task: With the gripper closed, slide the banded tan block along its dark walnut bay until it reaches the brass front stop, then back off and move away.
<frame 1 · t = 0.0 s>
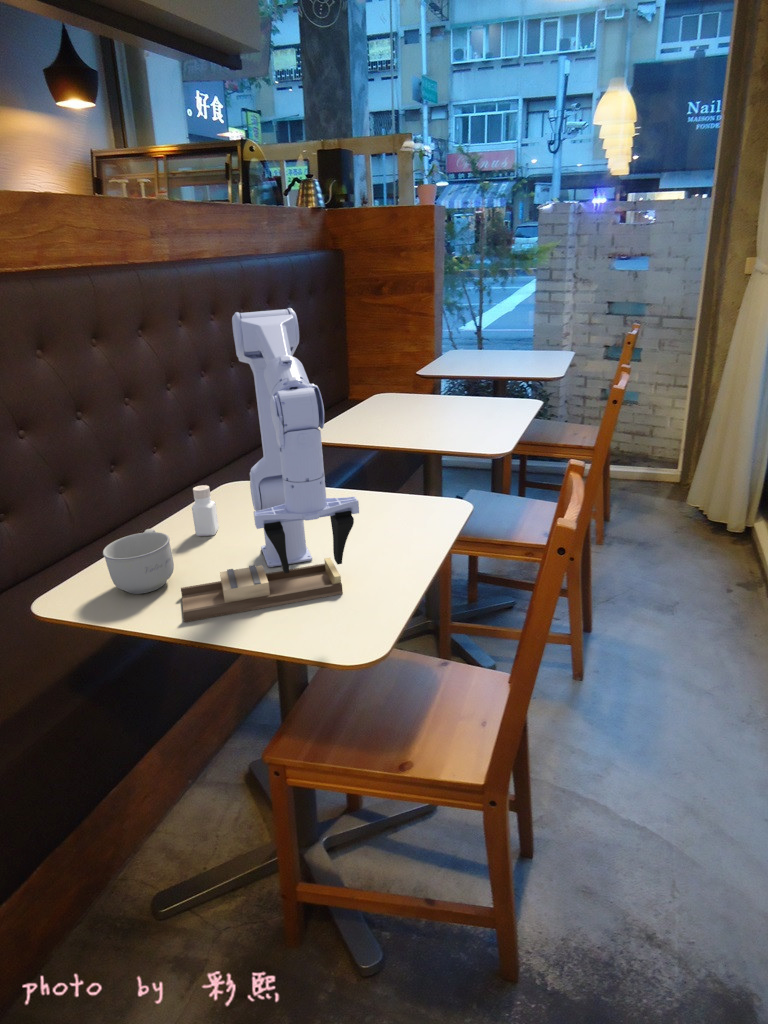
hand: (312, 566, 107), 10 cm above the table, tool pointing down, fingers open, 7 cm apart
banded tan block: (244, 585, 121), point 2 cm above the table, slide at 0.0 cm
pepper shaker: (207, 533, 149), on the table
bay: (261, 595, 122), on the table
teacup: (148, 583, 129), on the table
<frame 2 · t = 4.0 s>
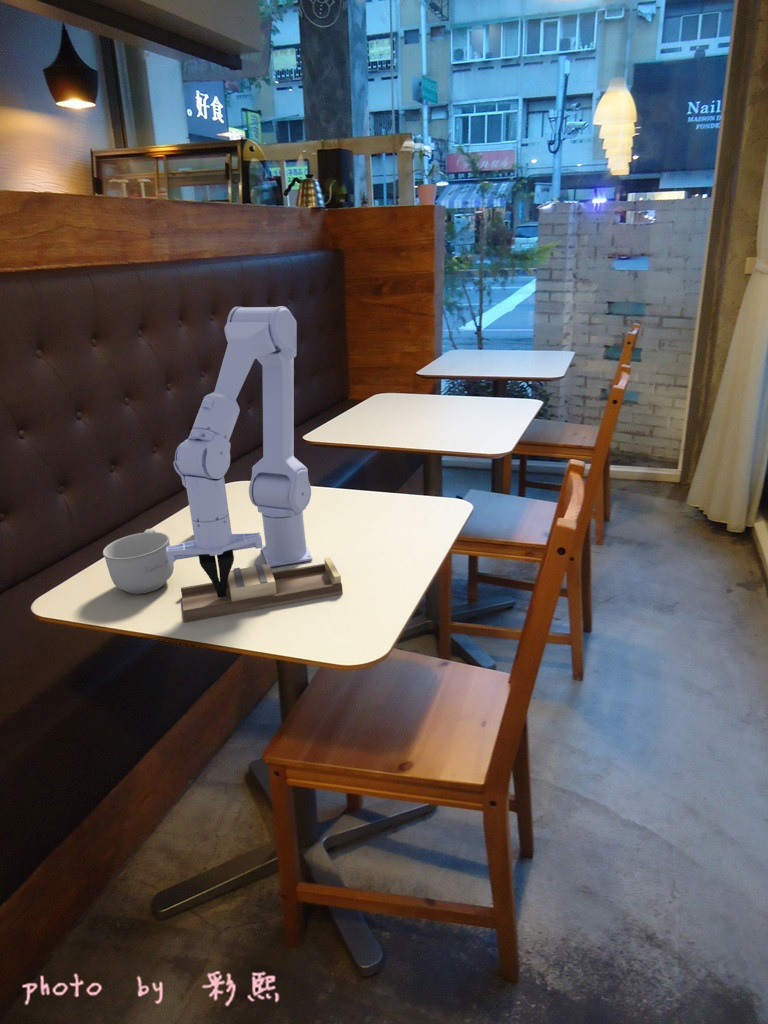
hand: (221, 594, 120), 1 cm above the table, tool pointing down, fingers closed
banded tan block: (251, 584, 121), point 2 cm above the table, slide at 1.1 cm, touching gripper
everything else where it was.
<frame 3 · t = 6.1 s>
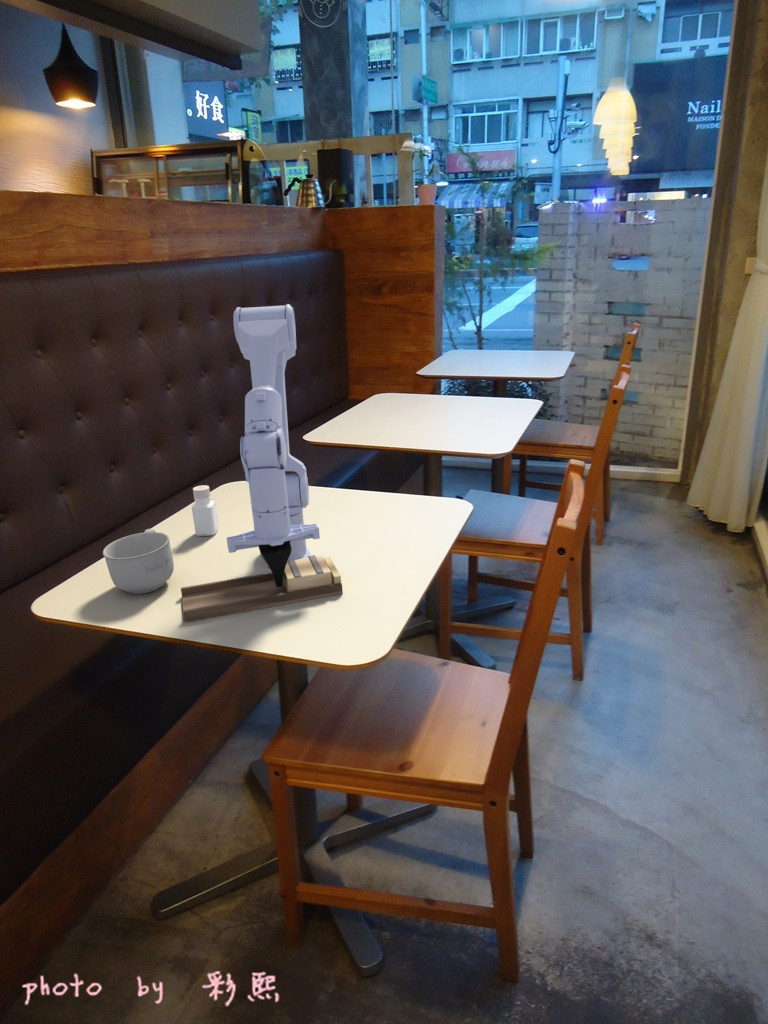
hand: (278, 584, 122), 1 cm above the table, tool pointing down, fingers closed
banded tan block: (306, 574, 123), point 2 cm above the table, slide at 10.1 cm, touching gripper
everything else where it was.
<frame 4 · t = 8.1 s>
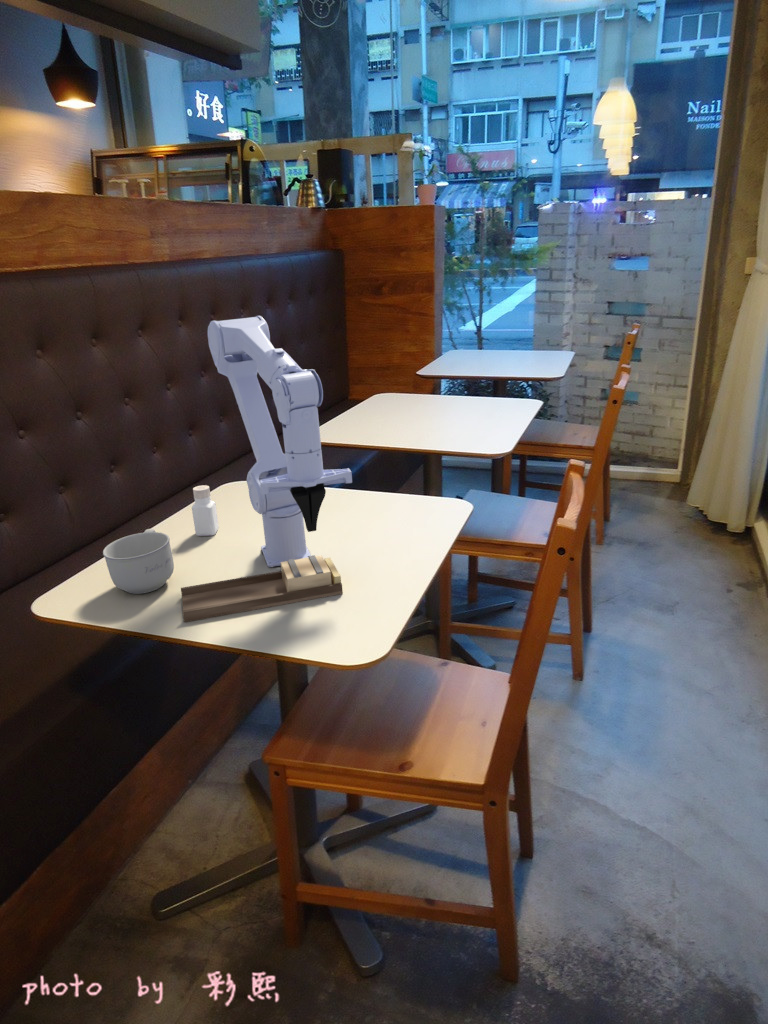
hand: (311, 529, 123), 9 cm above the table, tool pointing down, fingers closed
banded tan block: (305, 575, 123), point 2 cm above the table, slide at 10.0 cm
everything else where it was.
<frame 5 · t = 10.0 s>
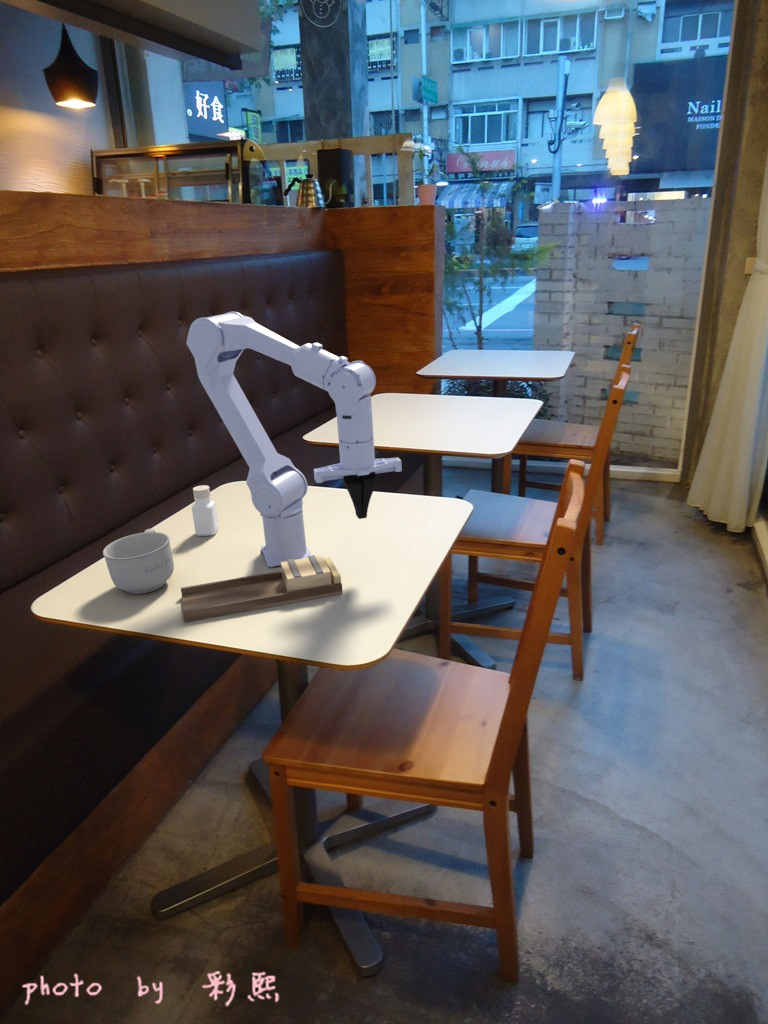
hand: (361, 516, 127), 9 cm above the table, tool pointing down, fingers closed
nothing on the table moved.
at the end: banded tan block slide at 10.0 cm; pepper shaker moved 0.2 cm from its start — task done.
